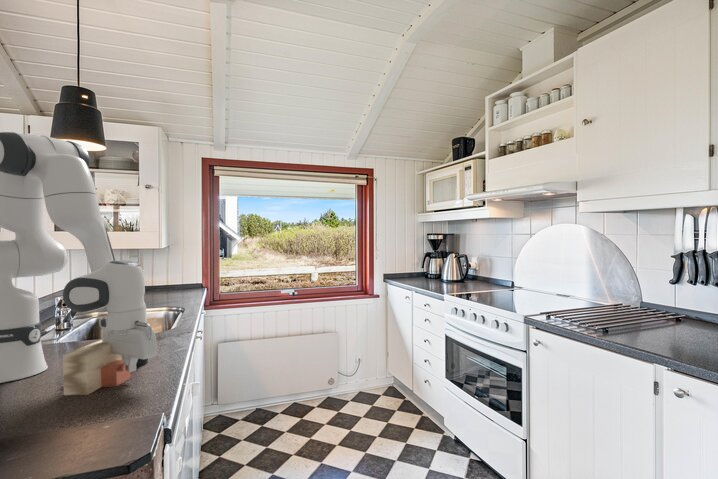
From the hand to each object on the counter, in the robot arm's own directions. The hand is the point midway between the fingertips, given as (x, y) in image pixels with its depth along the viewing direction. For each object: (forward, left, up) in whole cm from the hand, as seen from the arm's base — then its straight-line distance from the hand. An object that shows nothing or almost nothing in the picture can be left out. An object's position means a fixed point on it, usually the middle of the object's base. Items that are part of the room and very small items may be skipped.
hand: (130, 371), depth 98 cm
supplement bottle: (-7, +14, -3) cm, 16 cm away
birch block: (-9, 0, -3) cm, 9 cm away
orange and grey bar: (-9, 0, -3) cm, 9 cm away
